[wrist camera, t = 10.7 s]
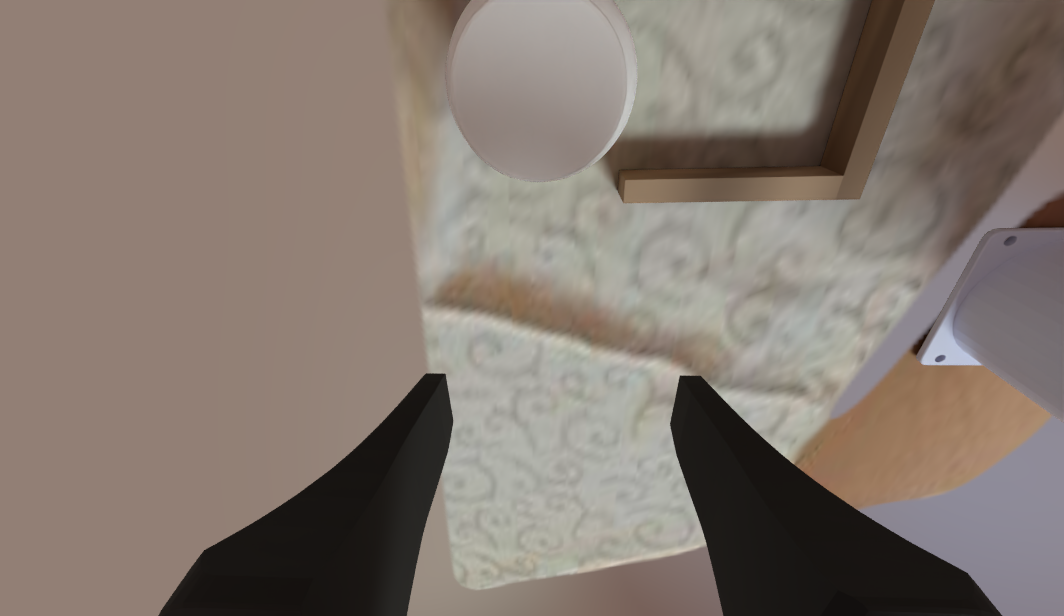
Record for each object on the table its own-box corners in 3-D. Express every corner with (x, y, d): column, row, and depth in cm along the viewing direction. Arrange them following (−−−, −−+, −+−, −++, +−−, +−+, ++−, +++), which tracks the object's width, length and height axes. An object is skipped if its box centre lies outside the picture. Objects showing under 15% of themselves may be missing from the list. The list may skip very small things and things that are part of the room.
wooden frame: (936, -107, 14) (982, -127, 13) (835, 187, 19) (859, 199, 18) (639, -92, 15) (649, -109, 13) (617, 191, 20) (623, 203, 18)
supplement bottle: (510, 161, 19) (479, 241, 11) (457, 32, 17) (367, 10, 9) (623, 114, 18) (684, 165, 10) (585, -32, 16) (624, -128, 7)
